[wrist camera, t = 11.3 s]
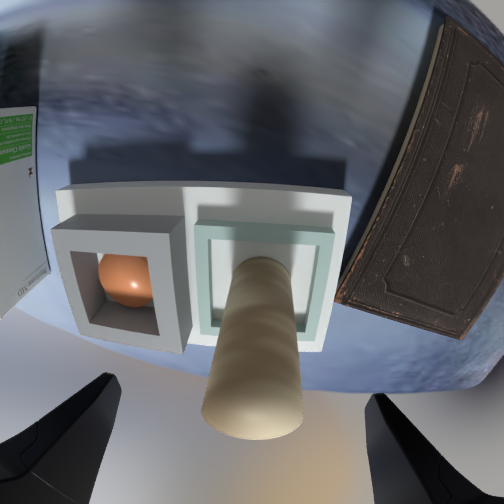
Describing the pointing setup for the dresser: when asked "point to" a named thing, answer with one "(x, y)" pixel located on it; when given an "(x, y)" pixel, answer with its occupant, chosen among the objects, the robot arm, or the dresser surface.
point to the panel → (197, 254)
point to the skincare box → (19, 209)
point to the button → (126, 279)
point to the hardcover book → (440, 201)
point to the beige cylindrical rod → (256, 357)
